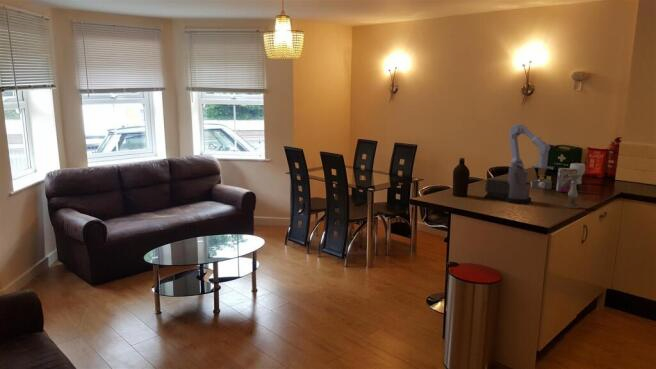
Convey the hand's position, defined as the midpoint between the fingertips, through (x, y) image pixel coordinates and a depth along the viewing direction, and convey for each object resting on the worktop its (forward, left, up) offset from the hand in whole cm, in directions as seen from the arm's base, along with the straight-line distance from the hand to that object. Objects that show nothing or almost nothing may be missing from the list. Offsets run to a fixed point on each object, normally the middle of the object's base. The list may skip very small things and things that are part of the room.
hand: (541, 178), depth 369 cm
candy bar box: (+15, -12, -6) cm, 20 cm away
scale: (0, +2, -6) cm, 6 cm away
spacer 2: (+6, +21, -6) cm, 22 cm away
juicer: (-24, -57, -6) cm, 63 cm away
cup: (+27, +27, -6) cm, 39 cm away
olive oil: (-54, -54, -6) cm, 77 cm away
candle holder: (+12, -64, -6) cm, 65 cm away
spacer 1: (0, +1, -3) cm, 3 cm away
